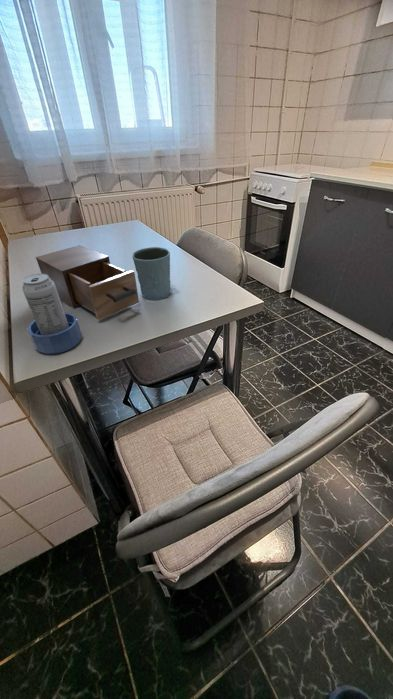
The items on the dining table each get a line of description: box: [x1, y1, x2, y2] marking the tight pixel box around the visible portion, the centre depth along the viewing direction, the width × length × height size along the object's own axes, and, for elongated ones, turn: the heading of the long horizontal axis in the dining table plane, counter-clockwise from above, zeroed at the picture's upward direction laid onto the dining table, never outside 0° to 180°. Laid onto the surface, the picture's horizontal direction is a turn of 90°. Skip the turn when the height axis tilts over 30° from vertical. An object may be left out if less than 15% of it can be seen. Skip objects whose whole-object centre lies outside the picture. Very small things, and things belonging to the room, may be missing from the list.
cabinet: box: [35, 244, 111, 309], centre depth 86 cm, size 16×14×11 cm
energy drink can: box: [22, 273, 69, 335], centre depth 63 cm, size 6×6×15 cm
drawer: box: [66, 261, 140, 321], centre depth 77 cm, size 19×13×9 cm
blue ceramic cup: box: [131, 246, 172, 301], centre depth 83 cm, size 10×10×12 cm
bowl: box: [27, 311, 83, 355], centre depth 66 cm, size 10×10×5 cm
